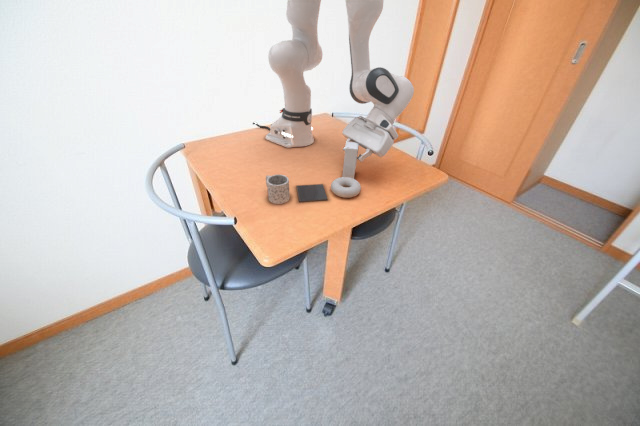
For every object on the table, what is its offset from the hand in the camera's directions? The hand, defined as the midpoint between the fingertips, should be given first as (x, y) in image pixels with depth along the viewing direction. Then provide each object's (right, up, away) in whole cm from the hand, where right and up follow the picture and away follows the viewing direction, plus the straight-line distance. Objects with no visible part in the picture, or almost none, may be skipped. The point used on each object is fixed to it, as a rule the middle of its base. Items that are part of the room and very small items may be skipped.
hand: (351, 155), depth 94 cm
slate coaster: (-14, -13, -5) cm, 20 cm away
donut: (-3, -13, -3) cm, 13 cm away
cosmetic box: (-1, -7, +5) cm, 8 cm away
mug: (-25, -14, -7) cm, 30 cm away
